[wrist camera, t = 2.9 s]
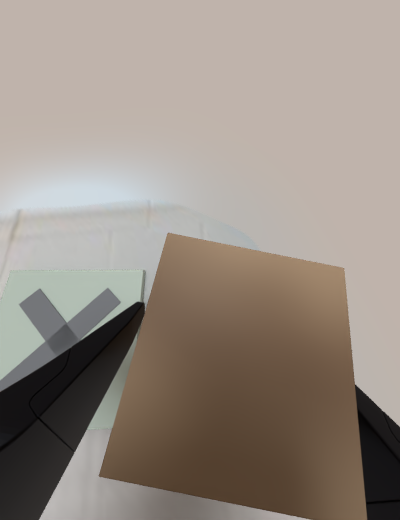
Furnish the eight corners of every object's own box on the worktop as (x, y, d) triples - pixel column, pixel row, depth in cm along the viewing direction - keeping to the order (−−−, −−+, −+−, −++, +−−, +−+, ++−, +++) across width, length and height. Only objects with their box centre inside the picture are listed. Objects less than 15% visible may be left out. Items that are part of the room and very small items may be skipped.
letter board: (132, 420, 14) (128, 428, 13) (-33, 430, 13) (-50, 440, 12) (145, 271, 17) (142, 269, 17) (19, 272, 17) (9, 270, 16)
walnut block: (227, 349, 16) (368, 531, 3) (172, 338, 16) (98, 476, 3) (234, 292, 17) (344, 268, 5) (184, 282, 17) (167, 232, 5)
